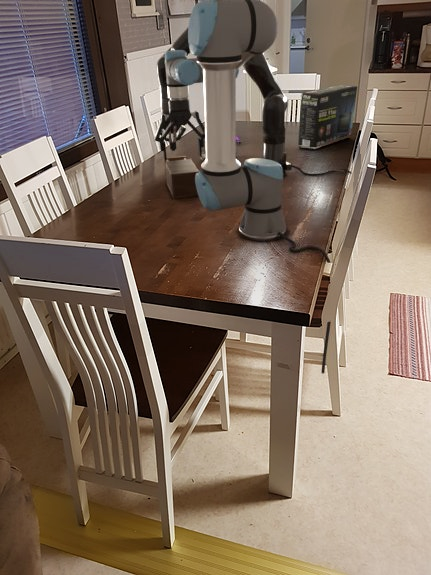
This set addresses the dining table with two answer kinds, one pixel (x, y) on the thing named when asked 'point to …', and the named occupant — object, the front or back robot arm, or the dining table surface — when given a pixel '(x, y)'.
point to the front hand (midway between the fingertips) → (182, 157)
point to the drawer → (174, 160)
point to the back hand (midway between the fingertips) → (173, 150)
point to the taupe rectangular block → (181, 178)
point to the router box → (326, 115)
